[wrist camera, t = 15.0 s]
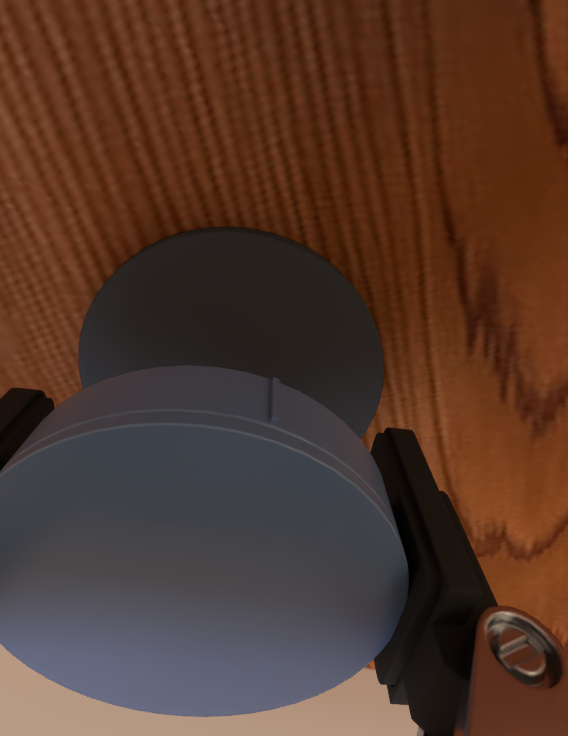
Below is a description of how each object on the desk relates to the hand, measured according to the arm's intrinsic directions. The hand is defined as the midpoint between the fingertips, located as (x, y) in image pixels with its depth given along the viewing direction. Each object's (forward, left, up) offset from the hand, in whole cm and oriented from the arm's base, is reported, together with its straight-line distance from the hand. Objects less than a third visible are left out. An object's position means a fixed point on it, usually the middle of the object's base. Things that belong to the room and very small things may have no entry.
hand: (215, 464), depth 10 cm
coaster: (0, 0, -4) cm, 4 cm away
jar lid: (0, 0, +3) cm, 3 cm away
